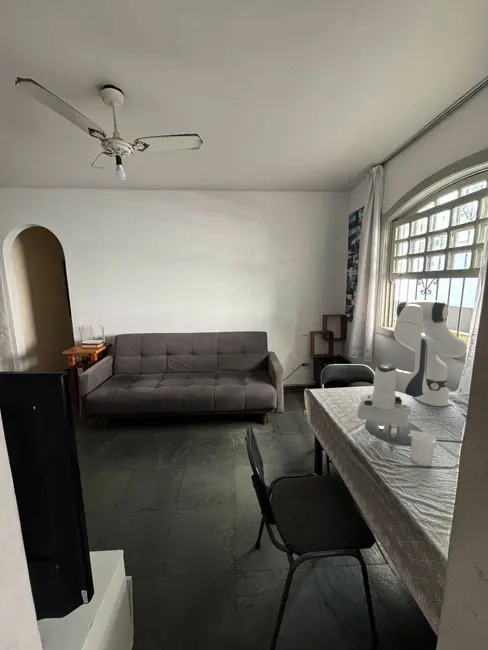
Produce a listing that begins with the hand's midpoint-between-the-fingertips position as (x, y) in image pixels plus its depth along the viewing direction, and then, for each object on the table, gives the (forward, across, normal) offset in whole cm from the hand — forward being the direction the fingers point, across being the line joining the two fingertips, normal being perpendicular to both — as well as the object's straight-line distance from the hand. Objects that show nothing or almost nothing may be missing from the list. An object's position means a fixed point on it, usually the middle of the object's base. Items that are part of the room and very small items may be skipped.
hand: (380, 431), depth 124 cm
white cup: (+4, -14, +10) cm, 18 cm away
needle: (+2, -5, -5) cm, 8 cm away
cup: (+4, -7, -30) cm, 31 cm away
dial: (+4, -6, -10) cm, 12 cm away
